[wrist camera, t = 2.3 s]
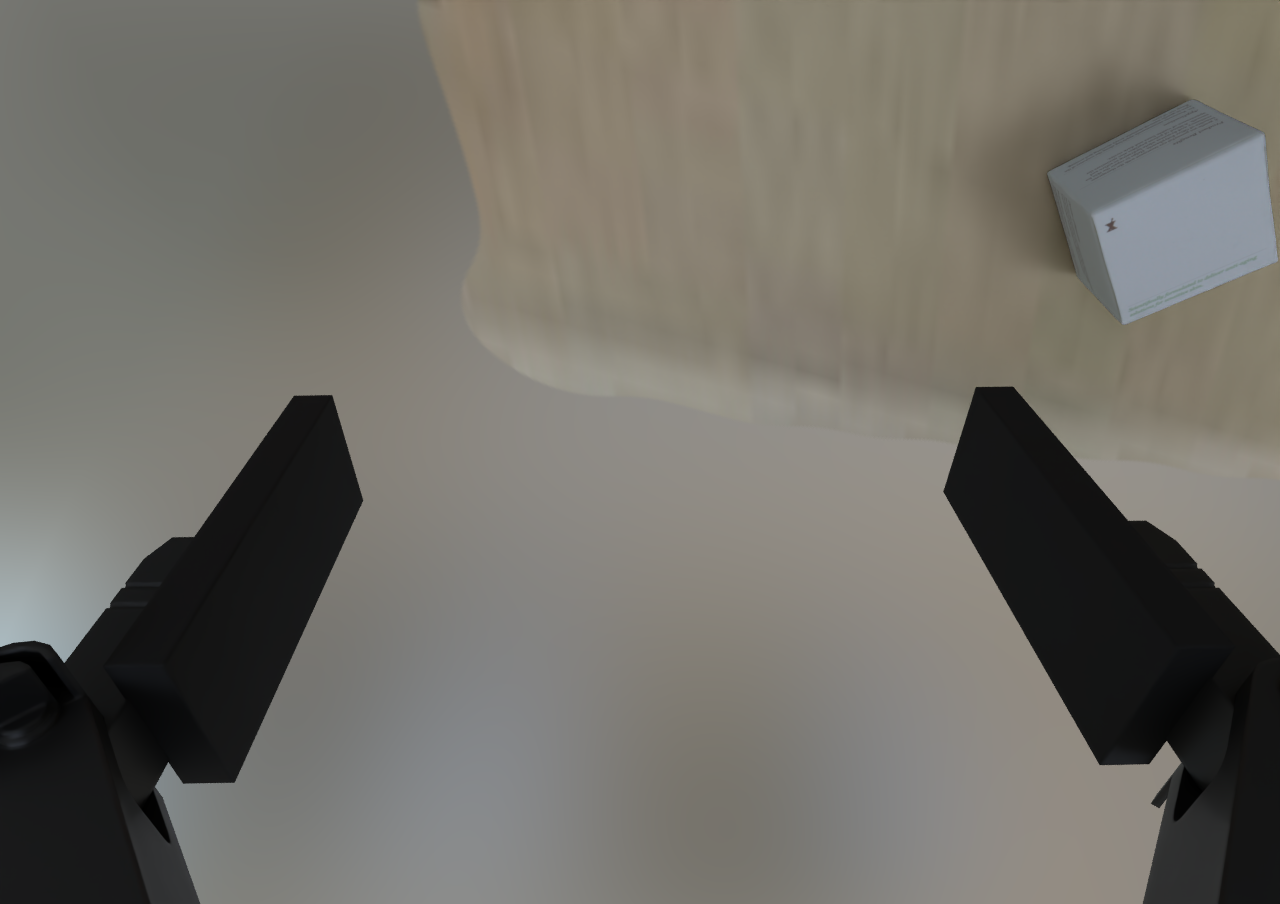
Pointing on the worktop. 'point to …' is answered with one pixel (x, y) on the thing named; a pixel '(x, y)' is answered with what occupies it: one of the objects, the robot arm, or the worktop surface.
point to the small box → (1167, 210)
